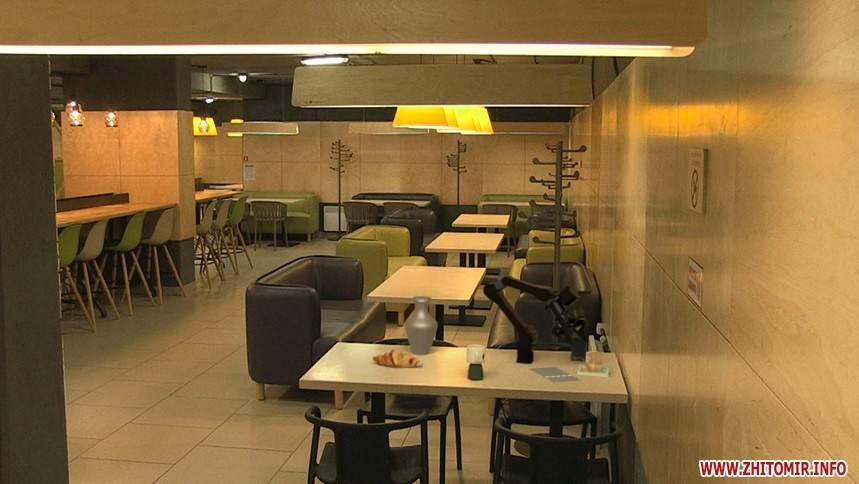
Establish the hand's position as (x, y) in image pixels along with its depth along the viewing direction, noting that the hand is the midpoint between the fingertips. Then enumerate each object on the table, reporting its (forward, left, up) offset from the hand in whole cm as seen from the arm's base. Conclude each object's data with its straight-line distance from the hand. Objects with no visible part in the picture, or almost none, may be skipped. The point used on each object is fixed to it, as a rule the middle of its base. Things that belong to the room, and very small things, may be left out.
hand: (580, 343), depth 342 cm
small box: (-2, +25, -12) cm, 28 cm away
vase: (-70, +12, -12) cm, 72 cm away
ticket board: (-9, -13, -12) cm, 20 cm away
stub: (+6, -4, -11) cm, 13 cm away
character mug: (-39, -24, -12) cm, 47 cm away
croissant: (-73, -13, -12) cm, 76 cm away
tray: (+6, -4, -12) cm, 14 cm away
